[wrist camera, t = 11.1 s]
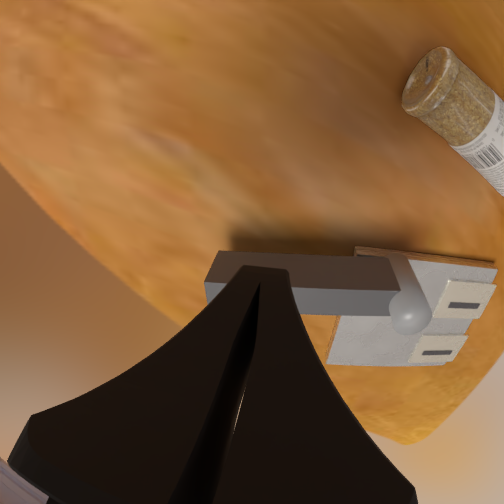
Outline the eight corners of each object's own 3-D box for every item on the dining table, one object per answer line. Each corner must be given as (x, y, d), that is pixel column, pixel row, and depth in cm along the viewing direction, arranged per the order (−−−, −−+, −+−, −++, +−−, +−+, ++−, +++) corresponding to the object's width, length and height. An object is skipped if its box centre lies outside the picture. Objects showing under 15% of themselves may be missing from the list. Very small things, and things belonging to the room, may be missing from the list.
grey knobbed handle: (404, 282, 18) (424, 334, 14) (222, 274, 19) (202, 326, 15) (412, 253, 17) (437, 304, 12) (219, 245, 18) (196, 294, 14)
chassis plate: (496, 262, 17) (503, 272, 16) (445, 357, 23) (448, 366, 22) (355, 245, 18) (358, 256, 17) (325, 354, 24) (325, 366, 23)
